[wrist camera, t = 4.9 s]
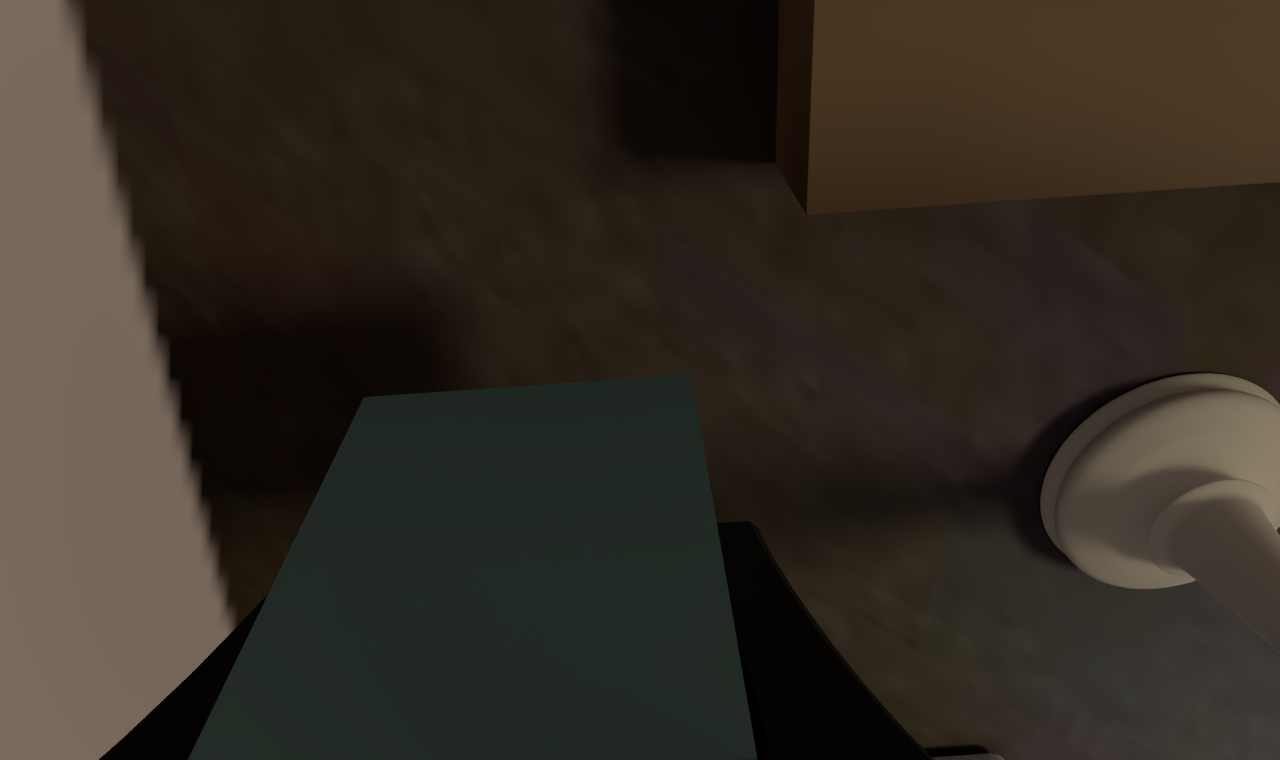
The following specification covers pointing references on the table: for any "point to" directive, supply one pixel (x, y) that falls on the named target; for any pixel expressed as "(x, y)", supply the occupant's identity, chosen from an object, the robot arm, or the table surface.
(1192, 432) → the chess piece
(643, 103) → the table surface
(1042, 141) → the walnut base
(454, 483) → the teal block
